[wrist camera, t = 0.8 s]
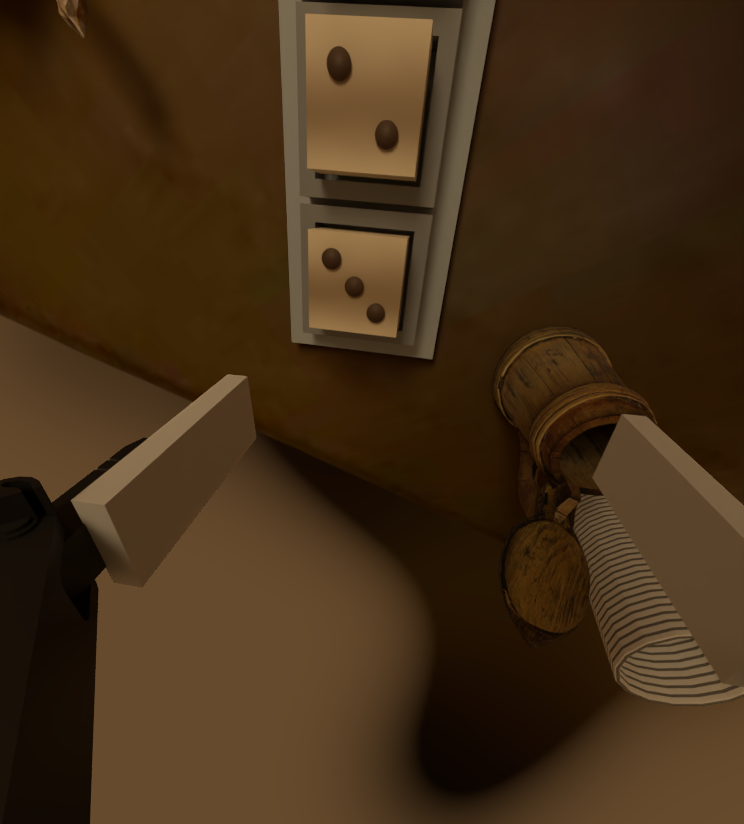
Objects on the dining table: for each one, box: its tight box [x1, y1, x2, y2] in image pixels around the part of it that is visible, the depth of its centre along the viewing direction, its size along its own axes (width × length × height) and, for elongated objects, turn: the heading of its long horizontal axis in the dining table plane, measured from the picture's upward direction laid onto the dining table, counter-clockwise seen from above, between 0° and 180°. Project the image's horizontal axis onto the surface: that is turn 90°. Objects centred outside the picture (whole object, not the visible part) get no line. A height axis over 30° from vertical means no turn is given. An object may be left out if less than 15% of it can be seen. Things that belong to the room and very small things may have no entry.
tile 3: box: [308, 227, 410, 338], centre depth 23 cm, size 6×6×3 cm
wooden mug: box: [492, 326, 659, 648], centre depth 23 cm, size 9×14×18 cm, turn 152°
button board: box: [279, 0, 495, 359], centre depth 21 cm, size 30×12×3 cm, turn 175°
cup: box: [573, 494, 744, 706], centre depth 28 cm, size 8×8×16 cm
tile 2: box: [305, 14, 433, 182], centre depth 19 cm, size 6×6×3 cm
